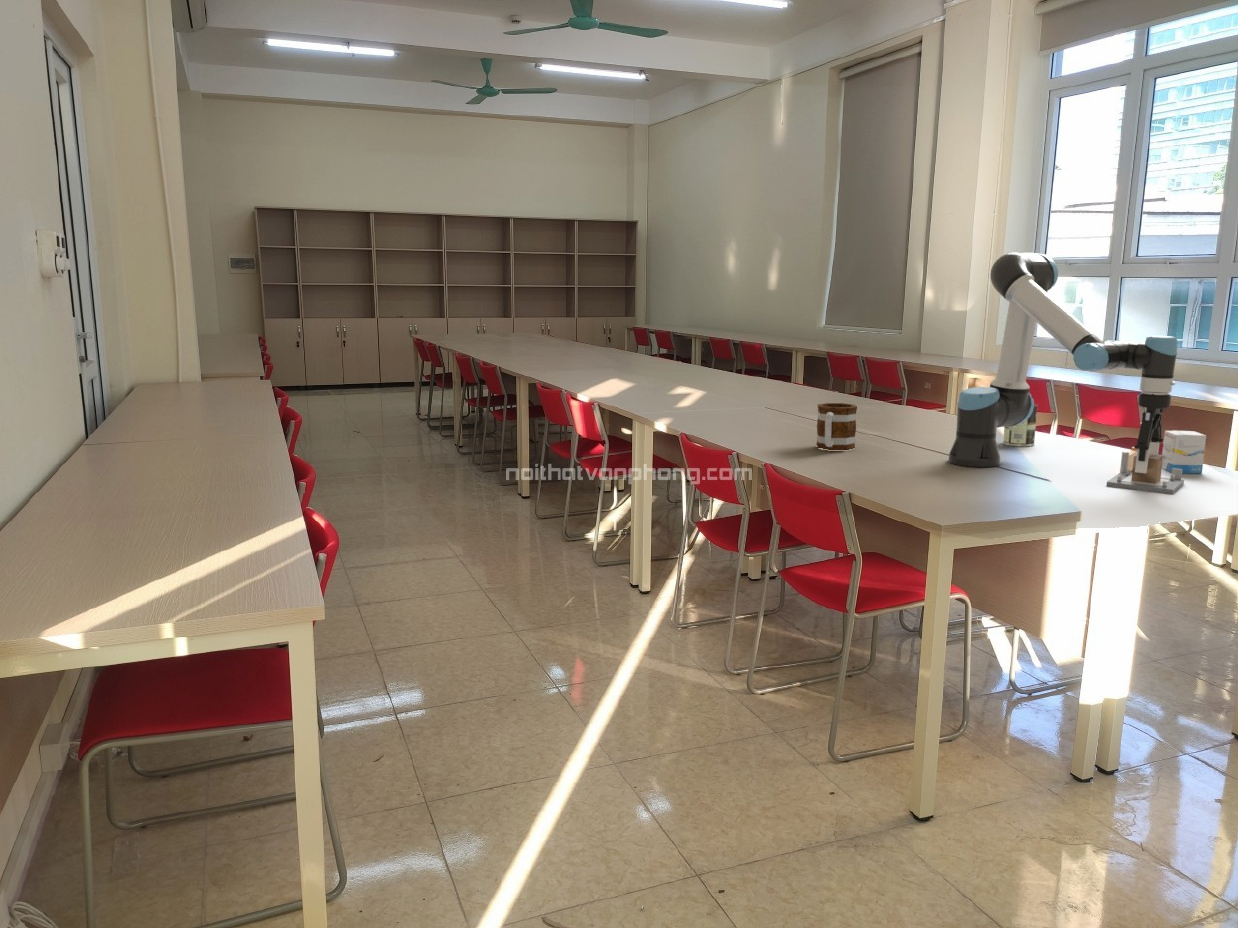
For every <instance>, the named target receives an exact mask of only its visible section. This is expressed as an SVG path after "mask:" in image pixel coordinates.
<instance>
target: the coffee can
mask: <svg viewBox="0 0 1238 928" xmlns="http://www.w3.org/2000/svg"><path fill="white" fill-rule="evenodd" d="M1038 407H1039V405H1038V404H1035V403H1034V408H1033V412H1032V414H1031V416H1030V417H1029V418H1028V419H1027V420H1026V421H1025V422H1023V423H1021V424H1017V425H1015V426H1009V427H1007V426H1005V427H1003V437H1002V438H1003V439H1002V444H1003V445H1006V446H1010V447H1034V446H1035V435H1036V424H1037V412H1038Z"/></svg>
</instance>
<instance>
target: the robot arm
mask: <svg viewBox="0 0 1238 928" xmlns="http://www.w3.org/2000/svg"><path fill="white" fill-rule="evenodd" d="M1058 269H1059V268H1058V266H1057V263H1056V262H1055V261H1054V260H1053V258H1052V257H1051V256H1049V255H1047V254H1043V253H1037V252H1023V253H1022V252H1020V253H1019V252H1010V253H1007V254H1004V255H1002V256H999V258H998V259H996V260H995V262H994V263H993V265H992V266H991V269H990V274H989V275H990V278H989V279H990V282H991V284H992V286H993V288H994V289H995V290H996V291H997V293H998V294H999V295H1000V296H1001V297H1003V298H1004V299H1005V300H1006V301H1007V302H1008V309H1007V314H1006V315H1007V316H1006V322H1005V326H1004V327H1005V328H1004V330H1003V331H1004V332H1003V338H1002V344H1001V350H1000V357H999V360H998V361H999V362H998V367H997V368H998V369H997V371H996V372H997V374H996V377H995V378H994V379H993V380H992V381H990V384H989V386H980V387H979V386H978V387H970V388H965V389H964V390H962V391H960V392H959V394H958V395H959V396H958V401H957V413H956V414H957V417H956V431H955V432H956V434H955V439H954V442H953V444H952V446H951V449H950V451H949V453H948V462H949V463H950V464H953V465H956V466H957V465H958V466H963V467H972V468H973V467H974V468H991V467H992V468H993V467H997V466H1000V464H1001V454H1000V452H999V448H998V444H997V443H998V442H997V440H996V439H997V428H1004V427H1005V426H1007V427H1009V426H1015V425H1017V424H1021V423H1023V422H1025V421H1026V420H1027V419H1028V418H1029V417H1030V416H1031V414H1032V412H1033V408H1034V404H1035V402H1034V401H1035V400H1034V398H1033V397H1032V394H1031V393H1030V390H1031V389H1030V388H1031V387H1030V385H1029V384H1028V382H1027V374H1028V370H1029V364H1030V359H1031V354H1032V349H1033V348H1032V346H1033V342H1034V336H1035V331H1036V325H1037V324H1038V325H1039V326H1041V328H1042V329H1044V330H1045V331H1046V332H1047V333H1048V334H1050V336H1052V337H1053V338H1054V339H1055V340H1056V342H1058V343H1059V344H1060V345H1062V347H1063V348H1064V349H1066V350H1067V351H1068V352H1069V353H1071V355H1072V356H1073V357H1072V358H1073V359H1072V360H1073V362H1074V365H1075V367H1077V368H1078V369H1079V370H1081V371H1085V372H1087V371H1088V372H1098V371H1104V370H1105V371H1106V370H1117V369H1128V370H1132V369H1133V370H1141V378H1140V385H1139V391H1140V393H1139V395H1138V403H1137V405H1138V406H1139V407H1141V408H1146V411H1145V412H1144V411H1143V413H1142V419H1141V423H1140V428H1139V433H1138V437H1137V442H1136V444H1135V445H1134V446H1133V447H1134V448H1135V449H1138V450H1137V458H1136V466H1135V472H1138V473H1147V466H1148V458H1149V454H1153V455H1159V449H1160V443H1164V438H1163V436H1162V435H1163V434H1162V431H1163V412H1164V410H1165V409H1169V408H1170V407H1171V399H1172V395H1171V392H1172V389H1173V386H1175V385H1176V382H1175V381H1173V380H1174V373H1175V366H1176V358H1177V355H1178V339H1177V337H1175V336H1171V335H1170V336H1169V335H1149V336H1146V338H1145V341H1144V342H1138V341H1129V340H1128V341H1127V340H1119V339H1117V340H1114V339H1113V340H1105V341H1103V340H1101V339H1100V338H1099V337H1098V336H1096V335H1095V334H1094V333H1093V332H1092V331H1091V330H1090V329H1088V328H1087V326H1085V325H1084V324H1083V323H1082V322H1081V321H1079V320H1078V319H1077V318H1076V317H1075V316H1074V315H1073V314H1071V312H1069V311H1068V310H1067V308H1064V306H1062V305H1061V304H1060V303H1059V302H1058V301H1057V300H1055V299H1054V298H1053V297H1052V296H1051V295H1050V294H1048V291H1050V290H1051V289H1052V288H1053V287H1054V286H1055V285H1056V284H1057V281H1058V277H1059V270H1058Z"/></svg>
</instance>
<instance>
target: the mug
mask: <svg viewBox="0 0 1238 928" xmlns="http://www.w3.org/2000/svg"><path fill="white" fill-rule="evenodd" d="M857 410H858V405H856V404H852V403H851V404H850V403H843V402H829V403H828V402H825V403H820V404H817V423H816V434H817V435H816V437H817V438H816V444H815V445H817V446H818V448H823V449H828V450H849V449H853V448H855V449H856V443H855V442H856V431H857V426H856V425H857V421H856V420H857Z"/></svg>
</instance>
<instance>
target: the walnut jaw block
mask: <svg viewBox="0 0 1238 928" xmlns="http://www.w3.org/2000/svg"><path fill="white" fill-rule="evenodd" d="M1136 458H1137V454H1136V455H1135V456H1134V460H1133V469H1132V471H1131V474H1132V478H1131V481H1138V482H1146V483H1154V484H1156V483H1157V482H1159V481H1160V478H1161V477H1162V470H1163V468H1162V461H1163V455H1162V454H1158V455H1153V454H1149V458H1148V466H1147V473H1138V472H1135V466H1136Z"/></svg>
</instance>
